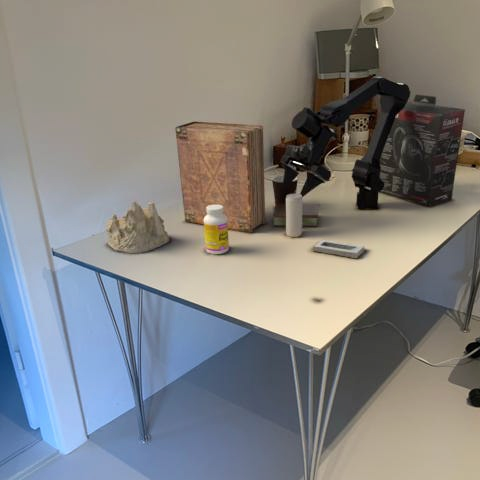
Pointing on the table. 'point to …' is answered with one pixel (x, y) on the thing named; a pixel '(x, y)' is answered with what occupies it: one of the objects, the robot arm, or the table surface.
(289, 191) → the coffee mug
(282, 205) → the dark wooden slab
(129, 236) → the beige rock formation
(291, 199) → the beverage can
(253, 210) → the book
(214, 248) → the supplement bottle
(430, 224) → the table surface
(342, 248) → the picture frame
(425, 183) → the headset box
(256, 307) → the table surface
